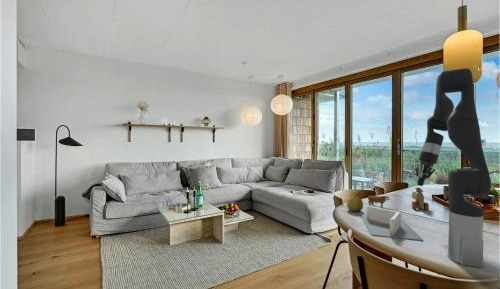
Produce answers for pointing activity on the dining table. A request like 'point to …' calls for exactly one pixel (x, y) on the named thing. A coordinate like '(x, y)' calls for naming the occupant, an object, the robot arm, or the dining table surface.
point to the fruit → (355, 203)
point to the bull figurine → (378, 200)
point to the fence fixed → (395, 223)
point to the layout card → (384, 229)
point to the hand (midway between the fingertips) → (419, 185)
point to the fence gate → (380, 214)
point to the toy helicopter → (419, 200)
